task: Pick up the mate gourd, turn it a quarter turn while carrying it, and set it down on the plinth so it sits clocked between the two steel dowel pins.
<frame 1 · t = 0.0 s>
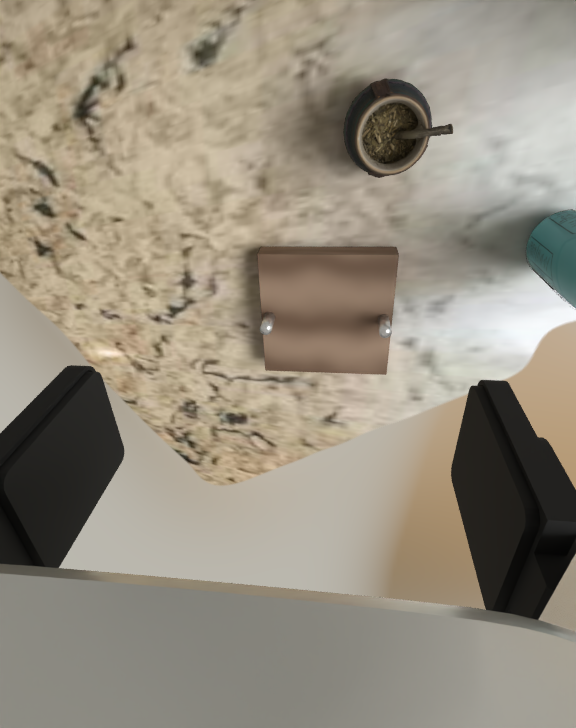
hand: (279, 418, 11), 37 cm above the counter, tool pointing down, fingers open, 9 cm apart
beverage bottle: (553, 236, 43), on the counter
mate gourd: (385, 125, 40), on the counter
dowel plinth: (326, 308, 50), on the counter
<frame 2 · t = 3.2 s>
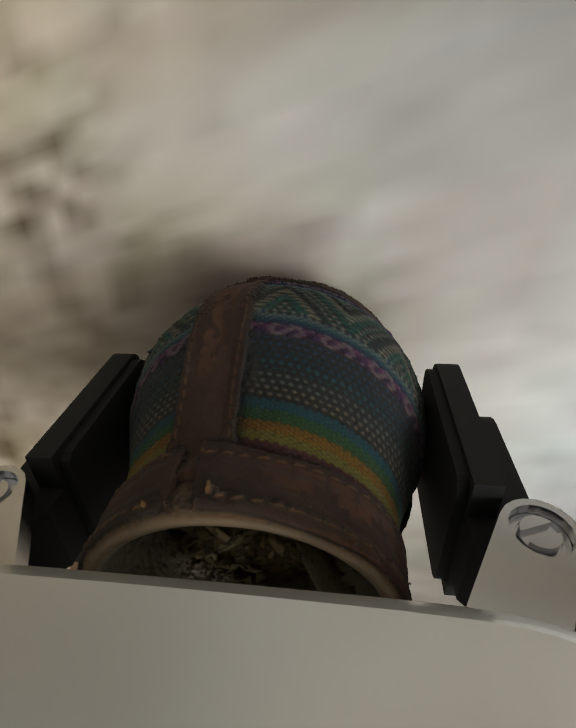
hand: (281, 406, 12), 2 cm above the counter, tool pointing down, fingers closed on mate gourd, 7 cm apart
mate gourd: (296, 355, 14), on the counter, touching gripper
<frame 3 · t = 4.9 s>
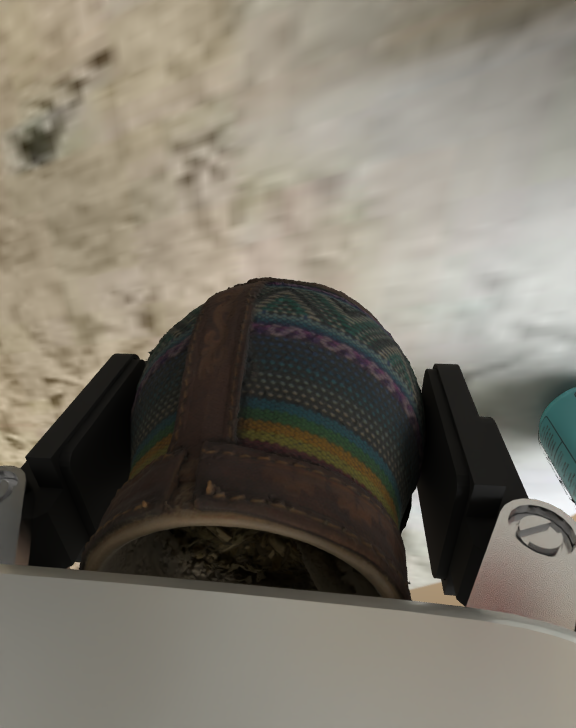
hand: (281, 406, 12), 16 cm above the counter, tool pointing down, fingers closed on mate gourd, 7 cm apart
mate gourd: (296, 355, 14), point 13 cm above the counter, touching gripper
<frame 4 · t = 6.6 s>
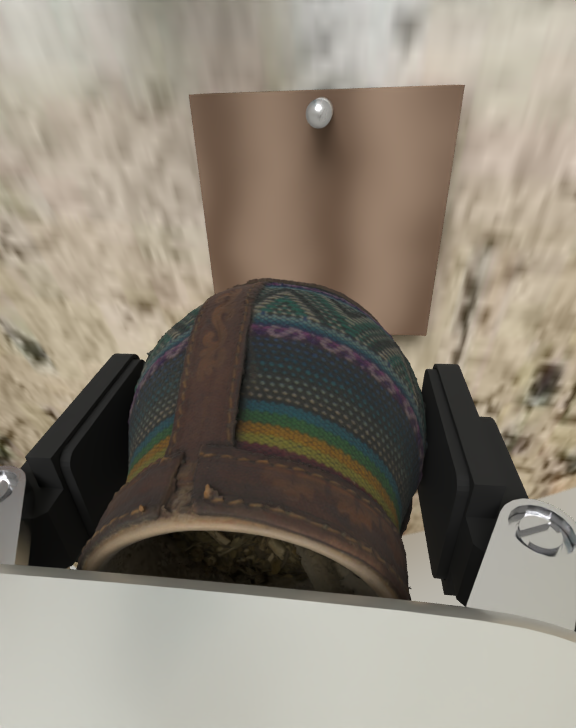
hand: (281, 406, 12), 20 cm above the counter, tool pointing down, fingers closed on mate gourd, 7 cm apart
mate gourd: (296, 356, 14), point 17 cm above the counter, touching gripper
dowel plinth: (322, 217, 28), on the counter
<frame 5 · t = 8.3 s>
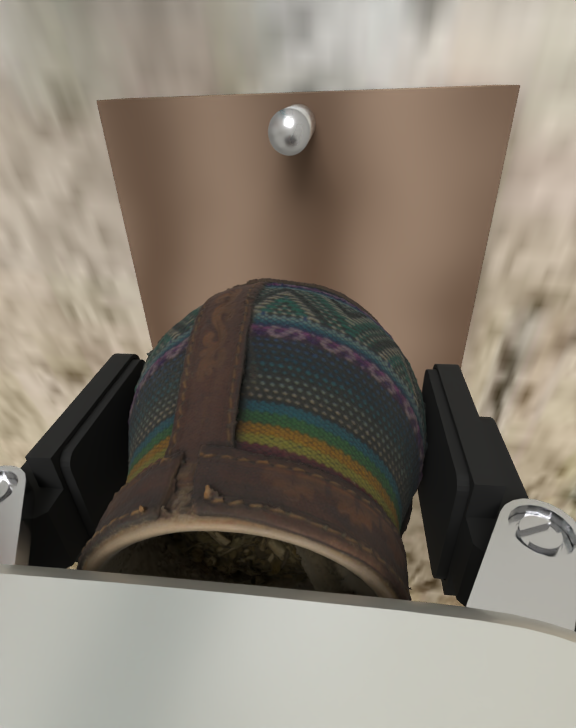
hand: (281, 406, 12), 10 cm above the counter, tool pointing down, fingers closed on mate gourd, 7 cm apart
mate gourd: (296, 357, 14), point 8 cm above the counter, touching gripper
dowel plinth: (305, 269, 20), on the counter
when the fingers open (6 cm above the counter, at t = 9.8 s): mate gourd stays where it is, resting on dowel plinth.
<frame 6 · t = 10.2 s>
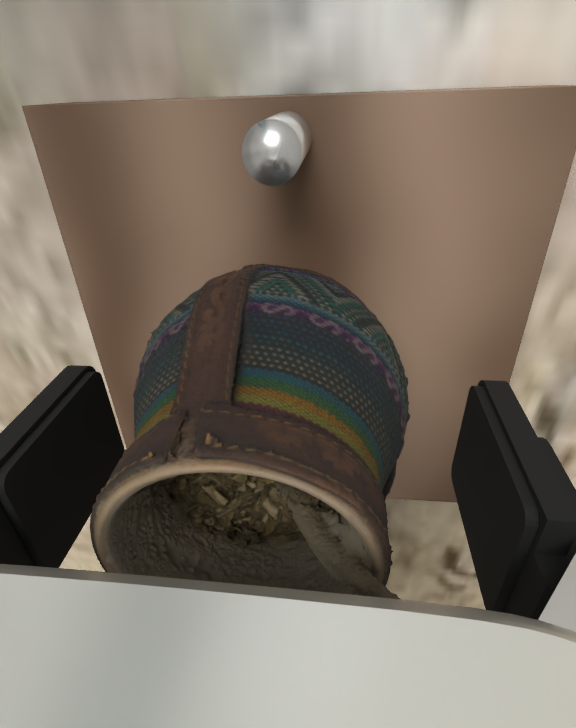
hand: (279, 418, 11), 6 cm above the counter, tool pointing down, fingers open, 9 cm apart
mate gourd: (289, 340, 15), point 2 cm above the counter, touching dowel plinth
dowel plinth: (301, 312, 17), on the counter
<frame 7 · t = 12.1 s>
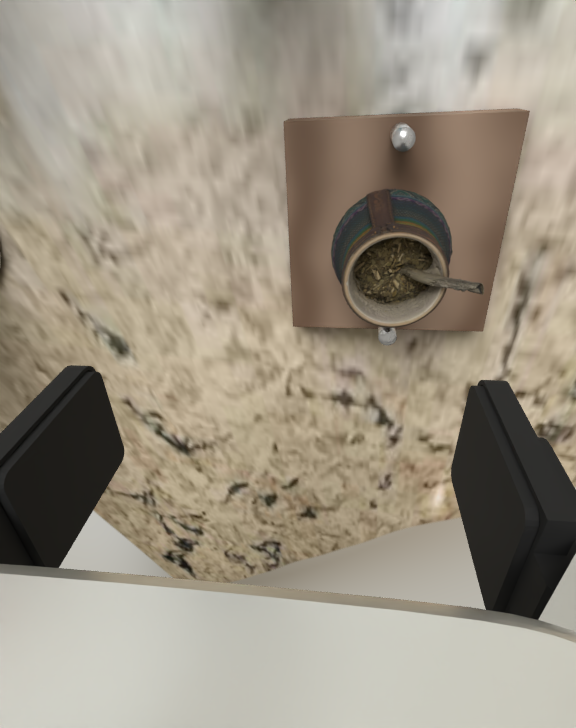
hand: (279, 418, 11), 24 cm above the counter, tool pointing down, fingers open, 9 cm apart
mate gourd: (389, 234, 30), point 2 cm above the counter, touching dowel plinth
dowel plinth: (390, 225, 32), on the counter
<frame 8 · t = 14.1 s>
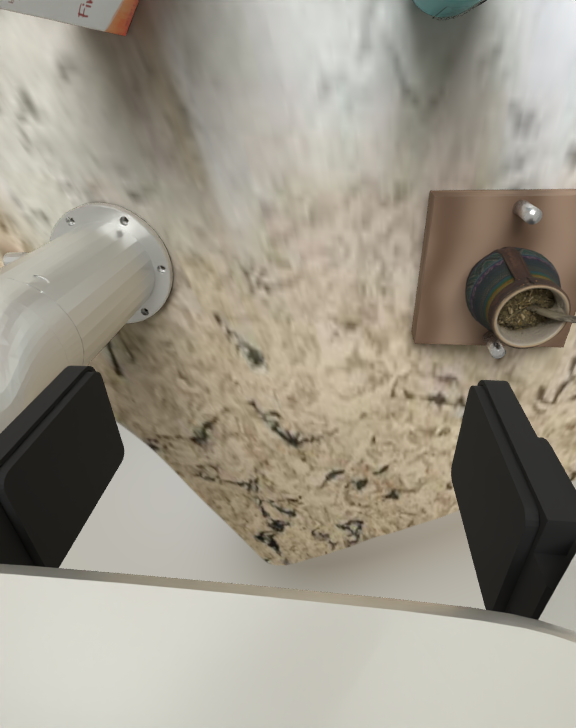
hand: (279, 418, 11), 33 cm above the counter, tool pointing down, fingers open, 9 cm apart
mate gourd: (501, 276, 40), point 2 cm above the counter, touching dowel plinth
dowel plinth: (496, 267, 42), on the counter
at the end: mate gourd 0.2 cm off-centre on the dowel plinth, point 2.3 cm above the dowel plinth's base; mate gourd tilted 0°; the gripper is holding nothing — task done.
